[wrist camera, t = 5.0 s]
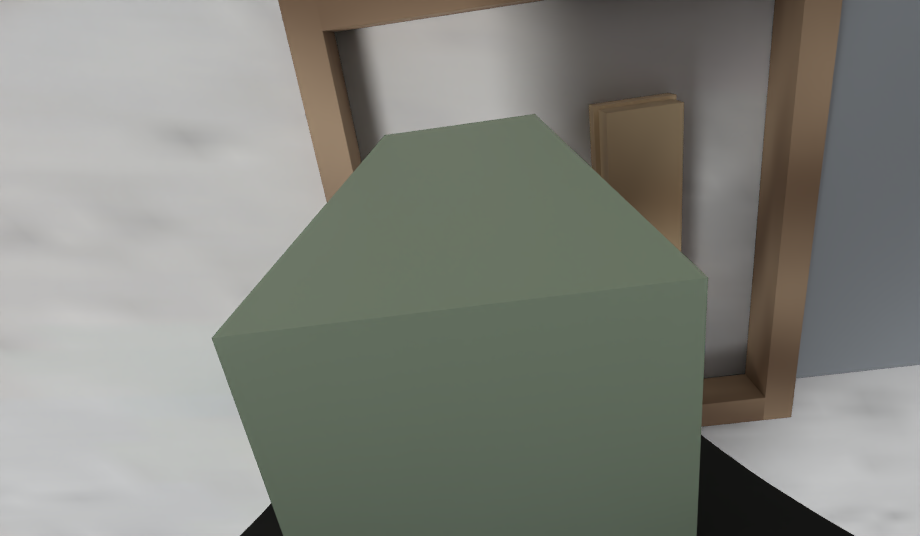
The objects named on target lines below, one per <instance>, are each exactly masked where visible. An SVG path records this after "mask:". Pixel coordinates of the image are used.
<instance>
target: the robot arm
mask: <svg viewBox="0 0 920 536" xmlns="http://www.w3.org/2000/svg"><path fill="white" fill-rule="evenodd" d="M240 536H283V534H282V531H281V528H280V525H279V522H278V520H277V517H276V514H275V511H274V509H273V506H272V503H271V504H270V505H269V506H268V507H267V509H266V510H265V511H264V512H263V513H262V514H261V515H260V516H259V517H258V518H257V519H256V520H255V521H254V522H253V523H252V524H251V525H250V526H249V527H248V528H247V529H246V530H245V531H244V532H243V533H242V534H241V535H240ZM697 536H854V535H852V534H851V533H849V532H847V531H846V530H844V529H842V528H840V527H839V526H837V525H835V524H833V523H832V522H830V521H828V520H827V519H825V518H823V517H821V516H820V515H818V514H817V513H815V512H813V511H812V510H810V509H809V508H807V507H805V506H804V505H802V504H801V503H799V502H797V501H796V500H794V499H793V498H791V497H789V496H788V495H786V494H785V493H783V492H781V491H780V490H778V489H777V488H775V487H773V486H772V485H770V484H769V483H767V482H766V481H764V480H763V479H761V478H760V477H758V476H757V475H755V474H754V473H752V472H751V471H749V470H748V469H747V468H745V467H744V466H742V465H741V464H740V463H738V462H737V461H736V460H734V459H733V458H731V457H730V456H729V455H727V454H726V453H724V452H723V451H722V450H720V449H719V448H718V447H716V446H715V445H714V444H712V443H711V442H710V441H708V440H707V439H706V438H705V437H703V436H702V435H701V446H700V469H699V491H698V514H697Z"/></svg>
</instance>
